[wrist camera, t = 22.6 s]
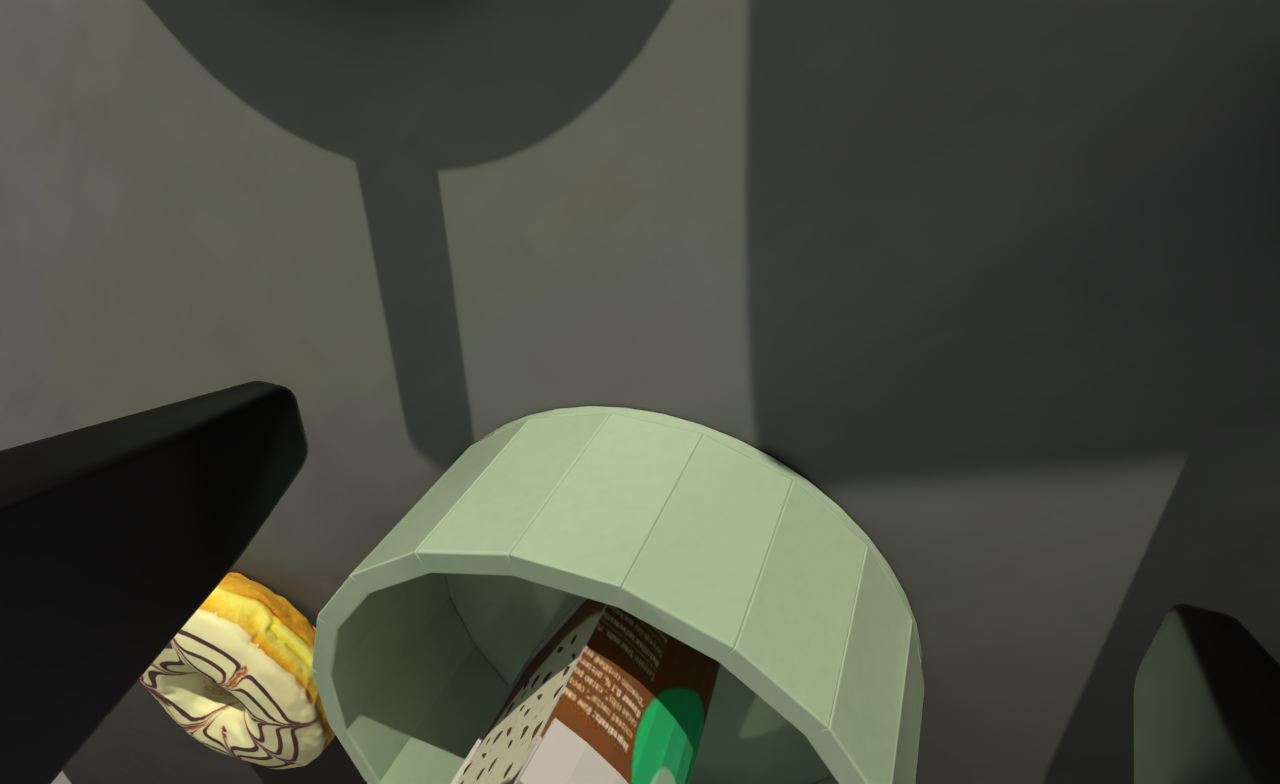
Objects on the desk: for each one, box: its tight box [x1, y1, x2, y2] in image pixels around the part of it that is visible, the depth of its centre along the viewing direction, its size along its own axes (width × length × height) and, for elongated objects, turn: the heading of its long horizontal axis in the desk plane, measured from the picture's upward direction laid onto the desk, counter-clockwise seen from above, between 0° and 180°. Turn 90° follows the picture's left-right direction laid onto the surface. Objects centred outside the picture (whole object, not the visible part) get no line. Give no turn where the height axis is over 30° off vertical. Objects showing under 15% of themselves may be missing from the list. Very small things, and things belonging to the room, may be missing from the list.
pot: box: [312, 406, 925, 784], centre depth 25 cm, size 17×17×6 cm
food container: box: [450, 597, 720, 784], centre depth 23 cm, size 12×6×10 cm, turn 150°
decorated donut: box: [140, 573, 335, 769], centre depth 36 cm, size 10×11×4 cm
